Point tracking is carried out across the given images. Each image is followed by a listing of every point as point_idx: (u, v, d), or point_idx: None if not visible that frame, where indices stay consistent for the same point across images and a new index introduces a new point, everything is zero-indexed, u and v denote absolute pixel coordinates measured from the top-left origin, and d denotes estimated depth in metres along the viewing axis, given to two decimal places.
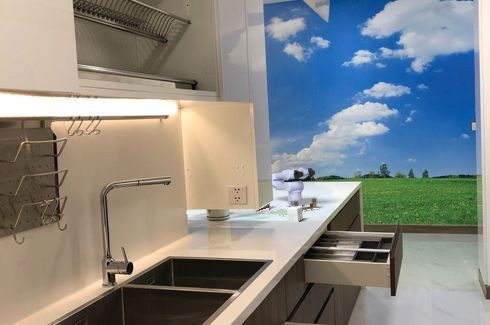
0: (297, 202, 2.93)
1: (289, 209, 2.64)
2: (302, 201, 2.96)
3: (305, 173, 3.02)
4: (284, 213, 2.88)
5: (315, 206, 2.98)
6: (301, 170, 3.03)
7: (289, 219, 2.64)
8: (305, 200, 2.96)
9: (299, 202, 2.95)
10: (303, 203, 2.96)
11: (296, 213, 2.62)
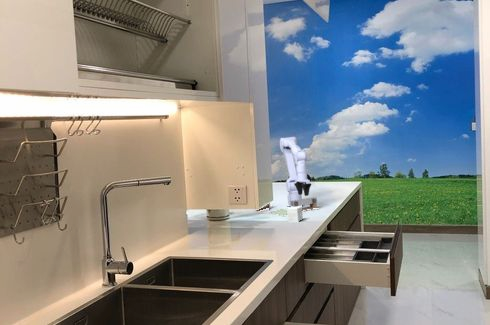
0: (297, 202, 2.93)
1: (289, 209, 2.64)
2: (302, 201, 2.96)
3: (303, 182, 2.96)
4: (284, 213, 2.88)
5: (315, 206, 2.98)
6: None
7: (289, 219, 2.64)
8: (305, 200, 2.96)
9: (299, 202, 2.95)
10: (303, 203, 2.96)
11: (296, 213, 2.62)
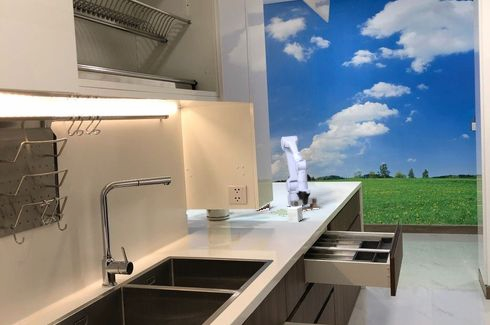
0: (297, 202, 2.93)
1: (289, 209, 2.64)
2: (302, 201, 2.96)
3: None
4: (284, 213, 2.88)
5: (315, 206, 2.98)
6: None
7: (289, 219, 2.64)
8: None
9: (299, 202, 2.95)
10: None
11: (296, 213, 2.62)
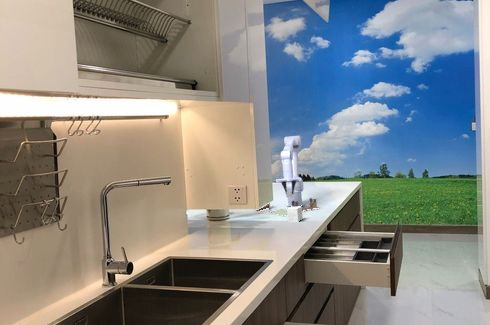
0: (297, 202, 2.93)
1: (289, 209, 2.64)
2: None
3: (291, 181, 2.94)
4: (284, 213, 2.88)
5: (315, 206, 2.98)
6: None
7: (289, 219, 2.64)
8: None
9: None
10: (292, 194, 2.94)
11: (296, 213, 2.62)
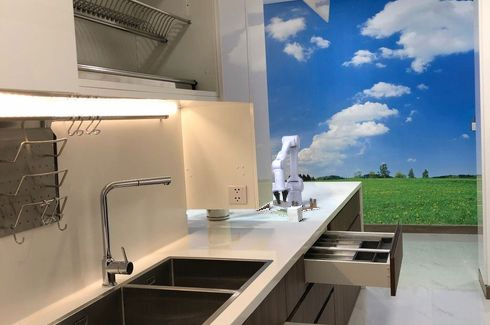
0: (297, 202, 2.93)
1: (289, 209, 2.64)
2: None
3: (283, 190, 2.94)
4: (284, 213, 2.88)
5: (315, 206, 2.98)
6: None
7: (289, 219, 2.64)
8: None
9: None
10: None
11: (296, 213, 2.62)
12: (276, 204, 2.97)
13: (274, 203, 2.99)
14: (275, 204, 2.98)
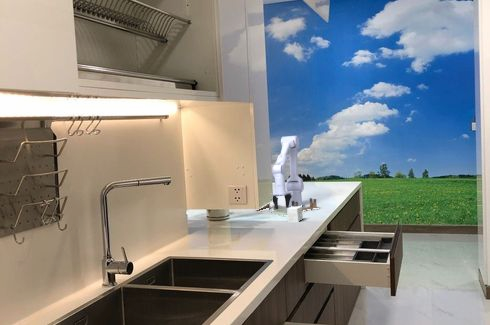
0: (297, 202, 2.93)
1: (289, 209, 2.64)
2: None
3: (283, 195, 2.94)
4: (284, 213, 2.88)
5: (315, 206, 2.98)
6: None
7: (289, 219, 2.64)
8: None
9: None
10: None
11: (296, 213, 2.62)
12: (276, 209, 2.97)
13: (274, 208, 3.00)
14: (275, 209, 2.98)
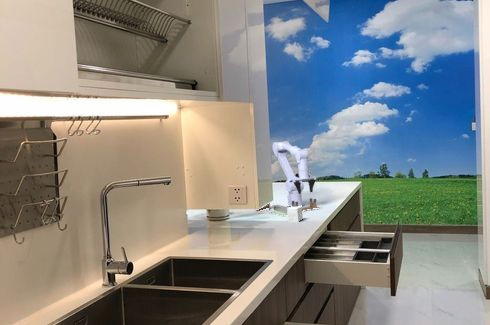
0: (297, 202, 2.93)
1: (289, 209, 2.64)
2: None
3: (306, 180, 3.03)
4: (284, 213, 2.88)
5: (315, 206, 2.98)
6: None
7: (289, 219, 2.64)
8: None
9: None
10: None
11: (296, 213, 2.62)
12: (276, 209, 2.97)
13: (274, 208, 3.00)
14: (275, 209, 2.98)
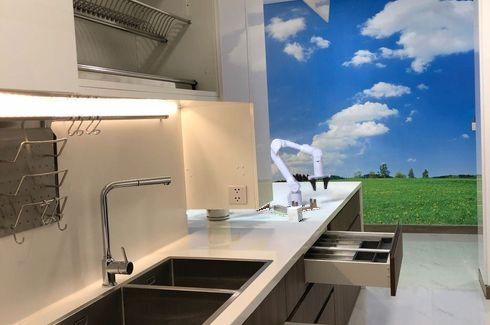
0: (297, 202, 2.93)
1: (289, 209, 2.64)
2: None
3: (321, 177, 3.11)
4: (284, 213, 2.88)
5: (315, 206, 2.98)
6: None
7: (289, 219, 2.64)
8: None
9: None
10: None
11: (296, 213, 2.62)
12: (276, 209, 2.97)
13: (274, 208, 3.00)
14: (275, 209, 2.98)
